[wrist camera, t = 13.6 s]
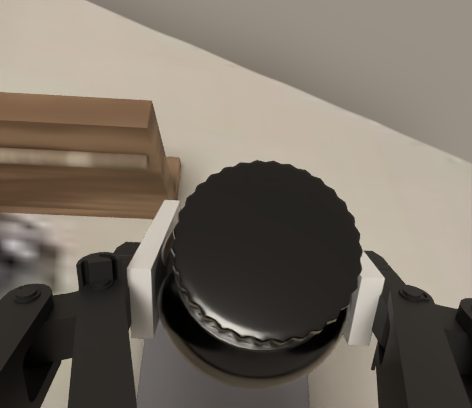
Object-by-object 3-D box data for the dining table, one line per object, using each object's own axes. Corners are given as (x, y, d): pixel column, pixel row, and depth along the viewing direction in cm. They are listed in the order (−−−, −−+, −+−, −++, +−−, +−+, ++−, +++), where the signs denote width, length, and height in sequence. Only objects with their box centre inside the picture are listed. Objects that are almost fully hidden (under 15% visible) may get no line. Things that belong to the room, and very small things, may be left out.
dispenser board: (173, 229, 32) (144, 142, 19) (-47, 220, 31) (-229, 123, 18) (180, 165, 35) (159, 52, 22) (-20, 155, 34) (-162, 32, 21)
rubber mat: (307, 413, 26) (309, 414, 25) (137, 409, 26) (135, 410, 25) (299, 250, 31) (300, 248, 31) (158, 244, 31) (157, 242, 30)
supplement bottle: (325, 326, 19) (469, 278, 8) (226, 410, 17) (239, 496, 6) (251, 231, 21) (287, 93, 10) (155, 296, 19) (74, 211, 8)
